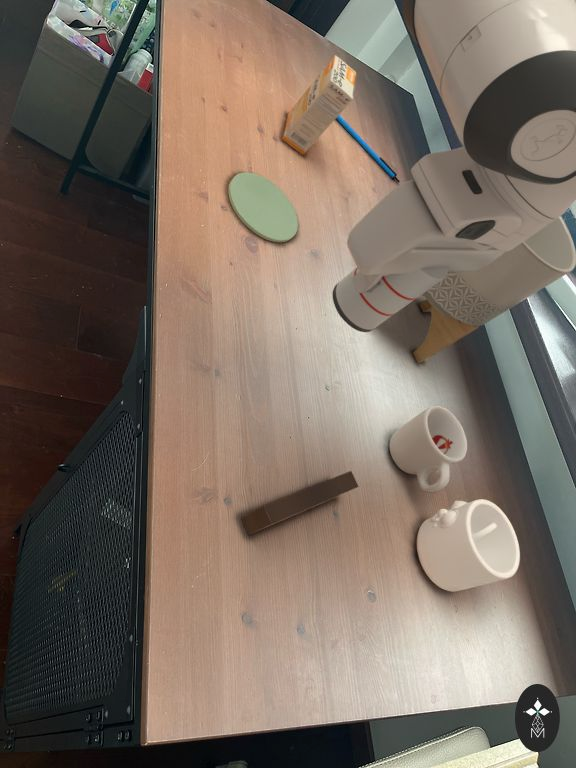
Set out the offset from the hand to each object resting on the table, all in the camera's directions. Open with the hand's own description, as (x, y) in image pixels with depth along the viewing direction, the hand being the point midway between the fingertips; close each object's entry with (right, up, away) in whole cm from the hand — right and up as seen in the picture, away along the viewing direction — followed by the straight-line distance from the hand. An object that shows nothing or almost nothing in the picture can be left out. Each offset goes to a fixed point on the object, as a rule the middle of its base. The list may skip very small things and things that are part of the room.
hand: (382, 285), depth 61 cm
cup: (+7, -21, +24) cm, 32 cm away
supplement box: (-8, +33, +44) cm, 56 cm away
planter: (+8, +2, +39) cm, 40 cm away
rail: (-9, -24, +8) cm, 27 cm away
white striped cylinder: (0, -5, +1) cm, 5 cm away
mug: (+11, -32, +21) cm, 39 cm away
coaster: (-13, +16, +30) cm, 36 cm away
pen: (+5, +36, +57) cm, 68 cm away
